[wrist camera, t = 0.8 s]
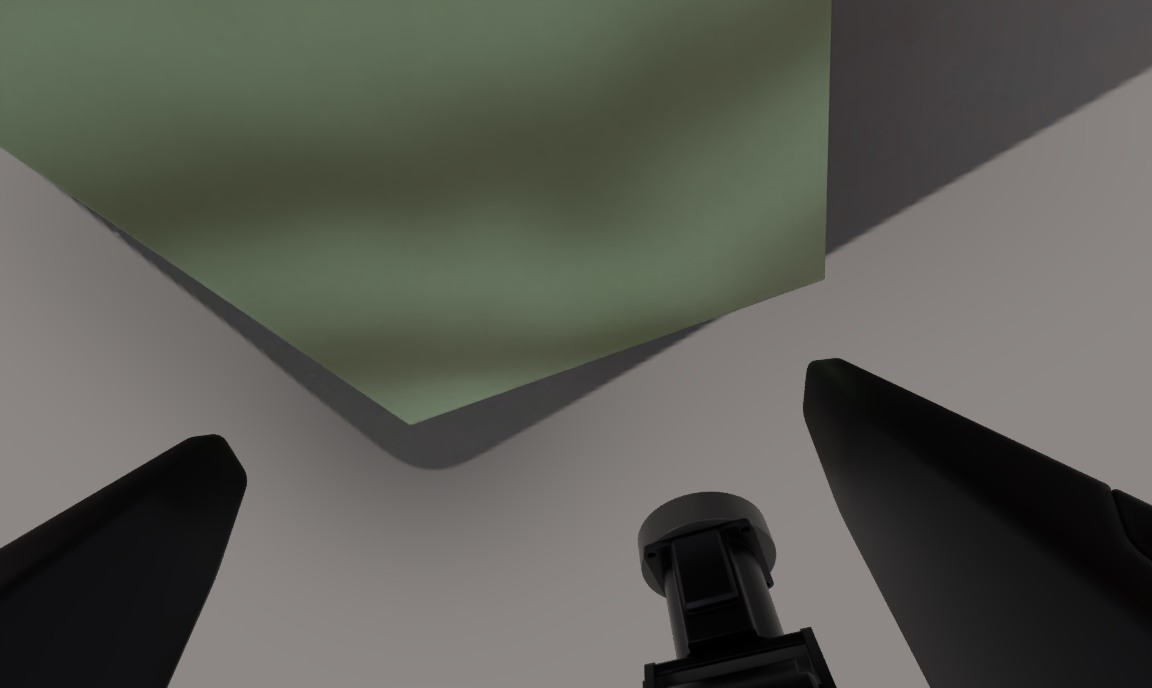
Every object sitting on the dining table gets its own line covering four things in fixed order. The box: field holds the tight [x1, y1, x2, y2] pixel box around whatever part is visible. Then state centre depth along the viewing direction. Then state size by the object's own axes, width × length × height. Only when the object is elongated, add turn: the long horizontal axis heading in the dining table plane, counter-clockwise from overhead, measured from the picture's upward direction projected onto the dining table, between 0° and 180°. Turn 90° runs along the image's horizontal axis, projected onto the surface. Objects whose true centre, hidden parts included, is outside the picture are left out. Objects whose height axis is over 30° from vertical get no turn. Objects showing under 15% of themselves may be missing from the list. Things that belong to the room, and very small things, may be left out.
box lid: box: [0, 0, 832, 425], centre depth 9 cm, size 14×12×1 cm
